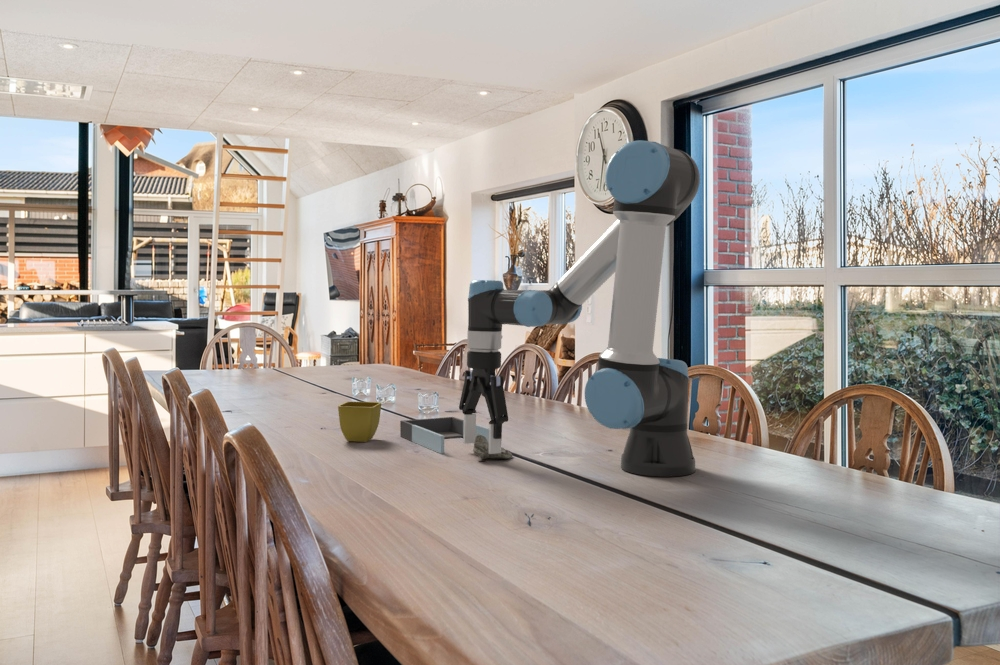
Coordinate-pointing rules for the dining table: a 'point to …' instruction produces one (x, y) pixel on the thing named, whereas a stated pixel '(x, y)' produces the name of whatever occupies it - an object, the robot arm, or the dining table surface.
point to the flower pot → (359, 420)
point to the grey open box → (434, 427)
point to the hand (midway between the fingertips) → (481, 448)
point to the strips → (438, 437)
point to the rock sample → (483, 448)
